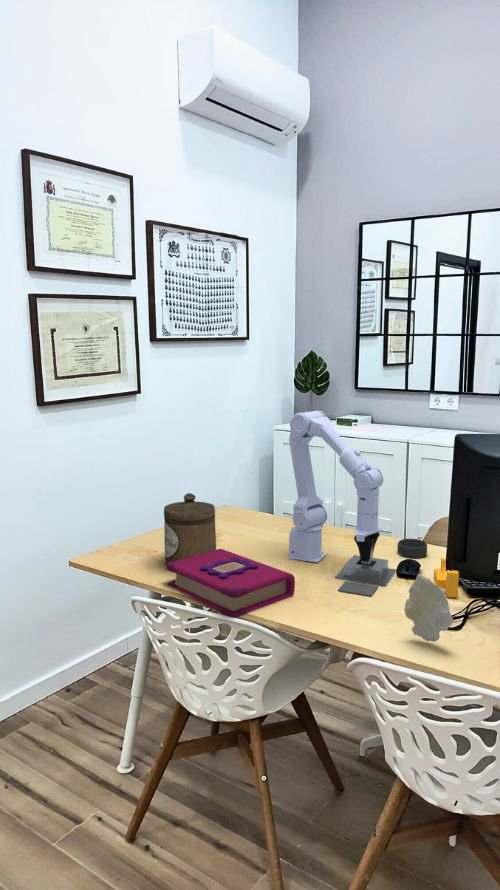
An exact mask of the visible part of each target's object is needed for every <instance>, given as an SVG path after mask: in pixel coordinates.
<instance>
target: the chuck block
mask: <svg viewBox="0 0 500 890" xmlns="http://www.w3.org/2000/svg"><path fill="white" fill-rule="evenodd" d="M396 572H397V570H396V569H395V568H390V567H389V559H383V558H378V557H377V558H376V557H373V567H371V566H365V565H361V559H360V555H357V554H353V555H352V556H351V557H350V559H348V561H346V562H345V564H344V565H343V568H342V569H340V571H339V572H338V573H337V574H336V575H334V579H337V580H343V581H348V582H354V583H360V584H367V585H373V586H378V587H386V586H387V584H388V583H389V582H390V580H391V579H392V577H394V575H395V573H396Z"/></svg>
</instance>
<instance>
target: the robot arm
mask: <svg viewBox="0 0 500 890" xmlns="http://www.w3.org/2000/svg"><path fill="white" fill-rule="evenodd" d="M289 428H290V432H289V439H288V441H289V442H288V443H289V446H290V447H289V448H290V454H291V461H292V466H293V473H294V480H295V486H296V492H297V500H296V501H295V503H294V505H293V514H292V515H293V516H292V522H293V524H294V526H292V527H291V529H290V531H289V537H288V556H287V558H288V559H290V560H298V561H306V562H310V563H319V562H320V561H322V559H323V558H325V557H326V555H327V553H325V552H323V550H322V547H323V544H322V543H323V541H322V540H323V529H324V524H325V523H326V522H327V520H328V512H327V510H326V508H325V506H324V502H323V500H322V498H321V497H319V495H317V490H316V485H315V483H316V482H315V477H314V476H315V475H314V470H313V465H312V458H311V453H310V447H309V445H310V443H311V441H312V440H313V438H314V437H317V438H322V440H323V441H324V442H325V443H326V444H327V445H328V446H329V447H330V448H331V449H332V450H333V451H334V452H335V453H336V454H337V455H338V456H339V458H338V460H339V463H340V464H341V467H343V468H344V469H345V471H346V472H347V473H348V474H349V475H350V476H351V477H352V479H353V485H354V487H355V489H356V495H357V505H356V506H357V509H356V511H357V512H356V513H357V515H356V527H355V530H356V535H354V537H353V539H354V542H355V544H356V546H357V548H358V555H359V556H360V559H361V561H364V562H369V559H370V554H371V549H372V545H373V553H375V552H374V551H375V547H376V544H377V541H378V539H379V537H380V536H381V535H380V534H381V533H382V531H383V528H380V527H379V503H380V501H379V500H380V499H379V498H380V497H379V496H380V495H379V494H380V487H381V486H382V485H383V484H384V483H383V482H384V476H383V473H382V472H381V470H380V468H377V467H373V466H372V465H371V464H370V463H368V462H367V461H366V460H365V458H364V457H363V456H362V455H361V454H362V453H361V452H360V451H359V450H358V449H357V450H356V448H350V447H348V445H347V444H346V442H344V440H343V439H342V437H341V436H340V435H339V433H338V432H337V431H336V429H335V428H334V427H333V426H332V424H331V420H330V418H329V417H327V416H326V414H325V413H324V411H322V410H317V409H316V410H313V411H305V412H297V413H295V414H294V415H293V416H292V417H291V418H290V420H289Z"/></svg>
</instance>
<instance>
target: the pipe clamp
mask: <svg viewBox="0 0 500 890" xmlns="http://www.w3.org/2000/svg"><path fill="white" fill-rule="evenodd" d="M446 558H447V557H441V559H440V568H434V569H433V581H434V584H435V585H436V586H439V587H440V588H442V589H444V591H445V594H446V598H459V597H458V596H459V577H460V572H459V570H452V571H450V570H447V571H446Z"/></svg>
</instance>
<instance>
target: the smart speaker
mask: <svg viewBox="0 0 500 890" xmlns="http://www.w3.org/2000/svg"><path fill="white" fill-rule="evenodd" d="M397 553H398V554H399V555H400V556H401V555H402V556H401V557H404V558H408V557H409V559H421V558H424V557H426V556H427V553H428V544H427V543H426V542H425V541H423V540H421V539H417V538H403V539H401V540H399V541H398V542H397Z"/></svg>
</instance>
